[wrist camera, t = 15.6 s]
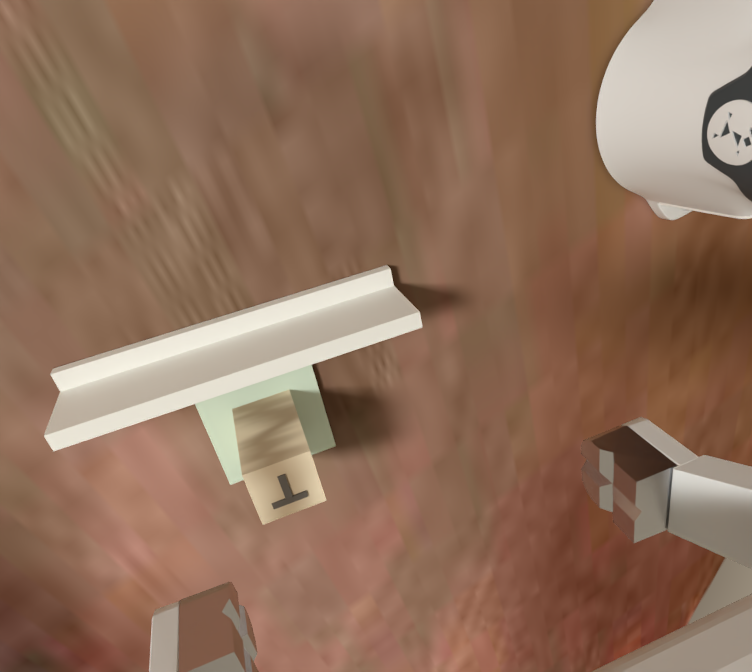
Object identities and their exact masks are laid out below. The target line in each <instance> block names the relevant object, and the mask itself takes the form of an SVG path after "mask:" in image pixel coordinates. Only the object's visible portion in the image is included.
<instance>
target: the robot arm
mask: <svg viewBox="0 0 752 672" xmlns="http://www.w3.org/2000/svg"><path fill="white" fill-rule="evenodd" d="M596 133H597V141H598V146H599V151H600V154H601V157H602V159H603V162H604V164H605V166H606V168H607V170H608V171H609V173H610V174H611V176H612V177H613V178H614V179H615V180H616V181H617V182H618V183H619V184H620V185H621V186H623V187H624V188H626V189H627V190H629V191H631V192H634V193H636V194H638V195H640V196H642V197H643V198H645V199H646V200H647V202H648V203H649V205H650V207H651V208H652V210H653V211H654V212H655V214H656V215H657V216H658V217H660V218H662V219H667V220H676V219H678V218H680V217H682V216H684V215H686V214H688V213H690V212H691V211H698V212H703V213H709V214H715V215H720V216H726V217H732V218H737V219H750V218H752V0H654V1H653V3H652V4H651V6H650V7H649V8H648V9H647V11H646V12H645V13H644V14H643V15H642V16H641V17H640V18H639V19H638V21H637V22H636V23H635V24H634V25H633V26H632V27H631V29H630V30H629V31H628V32H627V34H626V35H625V37H624V38H623V39H622V41H621V43H620V44H619V46H618V47H617V49H616V51H615V53H614V55H613V57H612V59H611V61H610V63H609V65H608V68H607V70H606V73H605V76H604V78H603V82H602V85H601V89H600V93H599V98H598V104H597V113H596ZM581 454H582V455H583V456H584V457H585V458H586V459H587V460H586V462H585V464H584V465H583V467H582V469H581V470H582V481H583V483H584V486H585V488H586V491H587V493H588V494H589V496H590V497H591V499H592V500H593V501H594V502H595V503H596V504H597V505H598V507H599V508H602V509H605V510H608V511H611V512H612V515H613V522H614V523H615V524H616V525H617V526H618V527H619V528H620V529H621V530H622V531H623V532H624V533H625V535H626V536H627V537H628V538H629V539H630V540H631V541H632V542H633V543H636V542H638V541H640V540H643V539H645V538H648V537H650V536H653V535H655V534H658V533H660V532H662V531H665V530H667V529H668V532H670V533H672V534H675V535H677V536H679V537H681V538H683V539H686V540H688V541H690V542H692V543H695V544H697V545H699V546H701V547H703V548H706V549H708V550H710V551H712V552H715V553H717V554H719V555H721V556H723V557H726V558H728V559H730V560H732V561H735V562H737V563H739V564H741V565H744V566H746V567H748V568H750V569H752V467H750V466H746V465H742V464H738V463H734V462H730V461H726V460H722V459H718V458H714V457H711V456H707V455H703V456H700V457H698V456H697V455H695V454H694V453H693V452H691V451H690V450H688V449H687V448H686V447H684V446H683V445H682V444H680V443H679V442H678V441H676V440H675V439H673V438H672V437H671V436H669V435H668V434H667V433H665V432H664V431H663V430H661V429H660V428H659V427H657V426H656V425H654V424H653V423H652V422H650V421H649V420H648V419H646V418H642V417H640V418H637V419H635V420H632V421H630V422H627V423H625V424H622V425H621V426H617V427H615V428H612V429H610V430H607V431H605V432H602V433H600V434H598V435H595V436H593V437H590V438H588V439H585V440H583V442H582V445H581ZM256 655H257V648H256V641H255V637H254V633H253V628H252V624H251V622H250V619H249V616H248V613H247V611H246V609H245V607H244V606H241V605H239V602H238V594H237V591H236V589H235V587H234V585H233V584H232V582H228V583H225V584H222V585H219V586H217V587H214V588H211V589H209V590H206V591H203V592H201V593H198V594H195V595H192V596H190V597H187V598H184V599H182V600H180V601H177V602H175V603H172V604H169V605H167V606H164V607H161V608H159V609H156V610H155V612H154V615H153V617H152V629H151V647H150V665H149V672H258V670H257V668H256V666H255V664H254V659H255V657H256ZM592 672H752V594H750V595H749V596H746V597H744V598H742V599H740V600H738V601H736V602H734V603H732V604H730V605H728V606H726V607H724V608H721V609H720V610H717V611H715V612H713V613H711V614H709V615H707V616H705V617H703V618H701V619H699V620H697V621H695V622H693V623H691V624H688V625H686V626H684V627H682V628H680V629H678V630H676V631H674V632H672V633H670V634H668V635H666V636H664V637H662V638H660V639H658V640H656V641H654V642H651V643H649V644H647V645H645V646H643V647H641V648H639V649H637V650H635V651H633V652H631V653H629V654H627V655H625V656H623V657H621V658H619V659H616V660H614V661H612V662H610V663H608V664H606V665H604V666H602V667H600V668H598V669H596V670H594V671H592Z"/></svg>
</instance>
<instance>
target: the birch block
mask: <svg viewBox="0 0 752 672" xmlns="http://www.w3.org/2000/svg"><path fill="white" fill-rule="evenodd" d="M232 412H233V419H234V425H235V432H236V439H237V445H238V452H239V459H240V465H241V472H242V477H243V479H244V481H245V484H246V486H247V489H248V491H249V493H250V496H251V498H252V500H253V503H254V505H255V508H256V510H257V512H258V515H259V517H260V519H261V522H262V524H263V525H264V524H266V523H269V522H272V521H274V520H277V519H279V518H282V517H285V516H287V515H290V514H293V513H295V512H298V511H300V510H303V509H306V508H308V507H311V506H313V505H316V504H319V503H321V502H324V501H326V498H325V494H324V491H323V488H322V485H321V482H320V479H319V476H318V473H317V470H316V467H315V464H314V461H313V458H312V455H311V452H310V449H309V446H308V443H307V440H306V437H305V435H304V432H303V429H302V426H301V423H300V420H299V417H298V414H297V411H296V408H295V405H294V402H293V399H292V396H291V393H290V390H286V391H283V392H280V393H277V394H275V395H272V396H269V397H266V398H263V399H260V400H257V401H254V402H251V403H248V404H245V405H242V406H239V407H237V408H234V409H232Z"/></svg>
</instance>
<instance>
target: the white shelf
mask: <svg viewBox="0 0 752 672" xmlns="http://www.w3.org/2000/svg"><path fill="white" fill-rule="evenodd" d="M419 328H422V322H421V316H420V311H419V310H418V309H417V308H416V307H415V306H414V305H413V304H412V303H411V302H410V301H409V300H408V299H407V298H406V297H405V296H404V295H403V294H402V293H401V292H400V291H399V290H398V289H397V288H396V287H395V286H394V284H393V278H392V273H391V268H390V267H389V266H387V265H386V266H382V267H379V268H376V269H373V270H369V271H366V272H363V273H360V274H357V275H353V276H350V277H347V278H344V279H340V280H337V281H334V282H331V283H328V284H324V285H321V286H318V287H315V288H311V289H308V290H305V291H302V292H299V293H295V294H292V295H289V296H286V297H282V298H279V299H276V300H273V301H270V302H266V303H263V304H260V305H257V306H253V307H250V308H247V309H244V310H241V311H237V312H234V313H231V314H228V315H224V316H221V317H218V318H215V319H212V320H208V321H205V322H202V323H199V324H195V325H192V326H189V327H186V328H183V329H179V330H176V331H173V332H170V333H166V334H163V335H160V336H157V337H154V338H150V339H147V340H144V341H141V342H137V343H134V344H131V345H128V346H125V347H121V348H118V349H115V350H112V351H108V352H105V353H102V354H99V355H96V356H92V357H89V358H86V359H83V360H79V361H76V362H73V363H70V364H67V365H63V366H60V367H57V368H54V369H53V370H52V372H51V374H50V375H51V376H52V378H53V380H54V381H55V383H56V385H57V387H58V388H59V390H60V394H59V397H58V399H57V402H56V405H55V407H54V410H53V413H52V415H51V418H50V421H49V423H48V426H47V429H46V431H45V434H44V437H45V439H46V440H47V442H48V443H49V445H50V447H51V448H52V450H53V451H56V450H59V449H62V448H65V447H68V446H71V445H74V444H77V443H80V442H83V441H86V440H89V439H92V438H95V437H98V436H101V435H104V434H107V433H110V432H113V431H115V430H118V429H121V428H124V427H127V426H130V425H133V424H136V423H139V422H142V421H145V420H148V419H151V418H154V417H157V416H160V415H163V414H166V413H169V412H172V411H175V410H178V409H181V408H184V407H187V406H190V405H193V404H196V403H199V402H202V401H205V400H208V399H211V398H214V397H217V396H220V395H223V394H226V393H229V392H232V391H235V390H237V389H240V388H243V387H246V386H249V385H252V384H255V383H258V382H261V381H264V380H267V379H270V378H273V377H276V376H279V375H282V374H285V373H288V372H291V371H294V370H297V369H300V368H303V367H306V366H309V365H312V364H315V363H318V362H321V361H324V360H327V359H330V358H333V357H336V356H339V355H342V354H345V353H348V352H351V351H354V350H356V349H359V348H362V347H365V346H368V345H371V344H374V343H377V342H380V341H383V340H386V339H389V338H392V337H395V336H398V335H401V334H404V333H407V332H410V331H413V330H416V329H419Z"/></svg>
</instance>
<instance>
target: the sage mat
mask: <svg viewBox="0 0 752 672" xmlns="http://www.w3.org/2000/svg"><path fill="white" fill-rule="evenodd" d="M286 390H290V393H291V396H292V399H293V402H294V405H295V408H296V411H297V414H298V417H299V420H300V423H301V426H302V429H303V432H304V435H305V437H306V440H307V443H308V446H309V449H310V452H311V455H313V454H316V453H318V452H321V451H324V450H327V449H329V448H332V447H335V446H336V445H335V441H334V438H333V435H332V431H331V428H330V425H329V421H328V418H327V415H326V411H325V408H324V405H323V401H322V398H321V395H320V391H319V388H318V385H317V381H316V378H315V375H314V371H313V368H312V365H309V366H306V367H303V368H300V369H297V370H294V371H291V372H288V373H285V374H282V375H279V376H276V377H273V378H270V379H267V380H264V381H261V382H258V383H255V384H252V385H249V386H246V387H243V388H240V389H237V390H235V391H232V392H229V393H226V394H223V395H220V396H217V397H214V398H211V399H208V400H205V401H202V402H199V403H196V404H195V405H196V408H197V410H198V412H199V414H200V417H201V419H202V421H203V424H204V426H205V428H206V430H207V433H208V435H209V437H210V440H211V442H212V444H213V446H214V449H215V451H216V453H217V455H218V458H219V460H220V462H221V465H222V467H223V469H224V471H225V474H226V476H227V478H228V480H229V483H230V485H231V484H234V483H237V482H239V481H242V480H244V479H243V477H242V472H241V465H240V459H239V452H238V445H237V439H236V432H235V425H234V419H233V412H232V409H234V408H237V407H239V406H242V405H245V404H248V403H251V402H254V401H257V400H260V399H263V398H266V397H269V396H272V395H275V394H277V393H280V392H283V391H286Z"/></svg>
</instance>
